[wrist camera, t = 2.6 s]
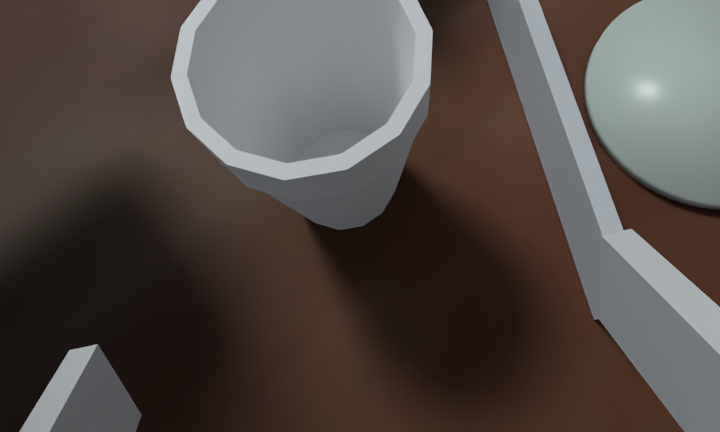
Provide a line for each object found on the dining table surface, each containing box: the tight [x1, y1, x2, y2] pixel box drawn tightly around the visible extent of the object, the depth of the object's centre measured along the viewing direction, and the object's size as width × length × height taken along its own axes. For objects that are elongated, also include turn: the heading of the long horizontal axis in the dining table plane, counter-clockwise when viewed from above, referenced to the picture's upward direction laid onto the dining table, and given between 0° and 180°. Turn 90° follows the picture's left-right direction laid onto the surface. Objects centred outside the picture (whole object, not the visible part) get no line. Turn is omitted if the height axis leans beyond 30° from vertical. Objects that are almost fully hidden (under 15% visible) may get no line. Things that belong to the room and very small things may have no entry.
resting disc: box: [583, 0, 720, 210], centre depth 29 cm, size 14×14×1 cm
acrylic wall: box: [487, 0, 624, 320], centre depth 28 cm, size 22×1×4 cm, turn 12°
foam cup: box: [171, 0, 433, 230], centre depth 24 cm, size 10×9×13 cm
